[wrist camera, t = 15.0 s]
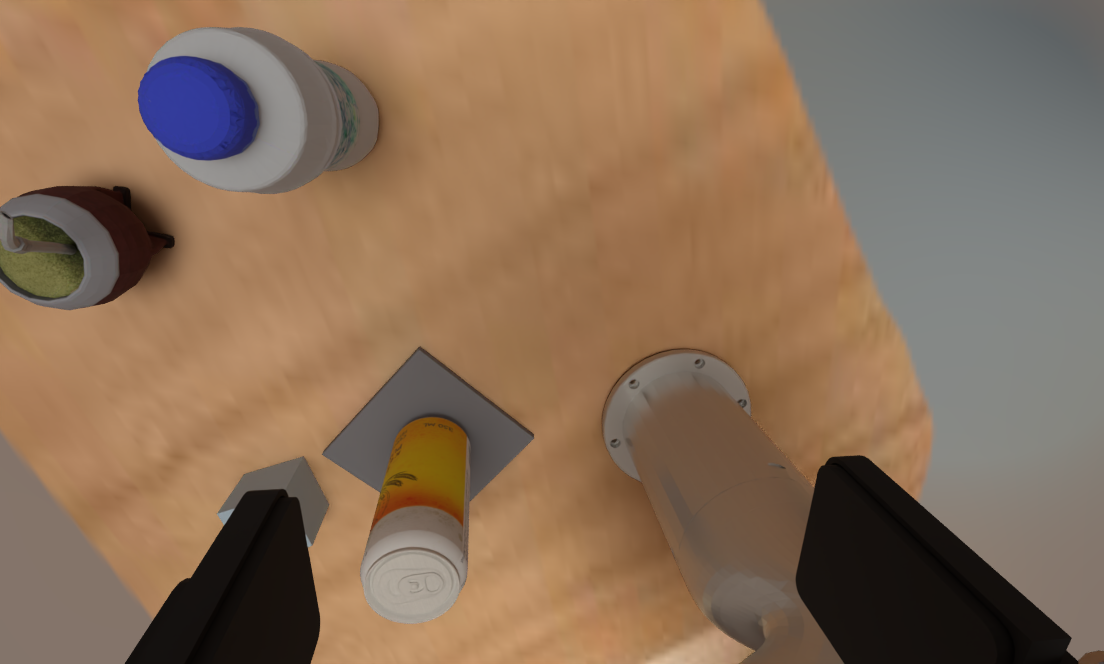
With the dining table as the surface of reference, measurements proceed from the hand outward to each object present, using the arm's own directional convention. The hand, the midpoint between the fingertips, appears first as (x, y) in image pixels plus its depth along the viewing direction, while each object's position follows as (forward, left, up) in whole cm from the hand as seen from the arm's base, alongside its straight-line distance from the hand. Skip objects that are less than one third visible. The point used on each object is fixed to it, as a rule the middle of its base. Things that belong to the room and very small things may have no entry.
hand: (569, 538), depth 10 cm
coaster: (-7, +17, -33) cm, 38 cm away
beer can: (-7, +17, -32) cm, 37 cm away
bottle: (+13, +2, -33) cm, 36 cm away
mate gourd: (+19, +17, -33) cm, 42 cm away
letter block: (-1, +28, -33) cm, 43 cm away
